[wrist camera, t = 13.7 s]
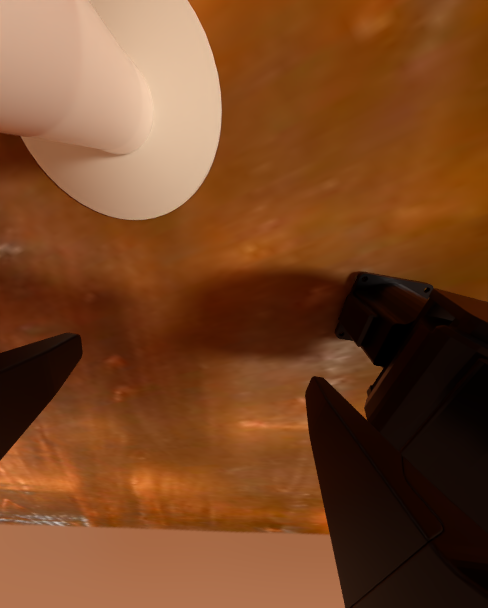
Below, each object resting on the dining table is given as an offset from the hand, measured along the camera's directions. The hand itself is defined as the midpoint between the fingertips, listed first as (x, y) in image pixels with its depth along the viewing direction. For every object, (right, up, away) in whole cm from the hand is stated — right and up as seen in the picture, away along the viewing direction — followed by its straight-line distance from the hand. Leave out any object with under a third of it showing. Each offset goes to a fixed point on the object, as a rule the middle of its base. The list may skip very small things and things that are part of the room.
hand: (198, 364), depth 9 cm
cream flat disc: (-7, +15, +6) cm, 18 cm away
